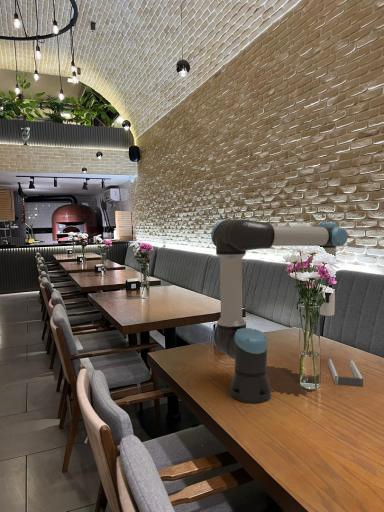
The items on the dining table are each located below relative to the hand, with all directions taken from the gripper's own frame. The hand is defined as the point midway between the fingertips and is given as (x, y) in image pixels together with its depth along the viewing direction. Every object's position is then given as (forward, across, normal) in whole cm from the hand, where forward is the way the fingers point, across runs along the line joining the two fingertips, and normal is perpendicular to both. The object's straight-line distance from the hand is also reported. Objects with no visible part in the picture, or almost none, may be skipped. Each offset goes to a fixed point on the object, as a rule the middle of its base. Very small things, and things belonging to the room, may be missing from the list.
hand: (325, 308), depth 171 cm
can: (+3, 0, 0) cm, 3 cm away
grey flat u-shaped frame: (+25, -15, -6) cm, 29 cm away
